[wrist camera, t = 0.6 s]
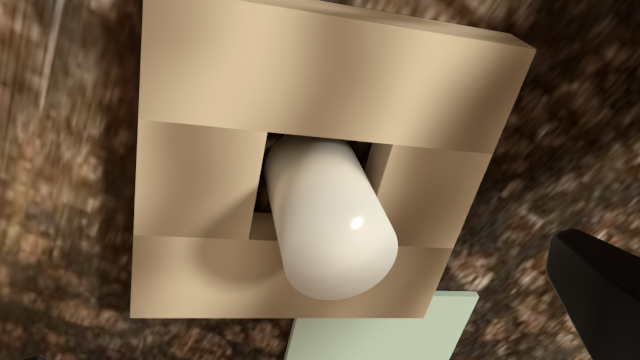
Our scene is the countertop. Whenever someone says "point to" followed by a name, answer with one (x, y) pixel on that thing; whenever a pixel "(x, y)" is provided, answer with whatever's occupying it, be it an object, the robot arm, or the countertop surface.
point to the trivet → (385, 333)
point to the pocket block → (307, 120)
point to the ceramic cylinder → (327, 218)
